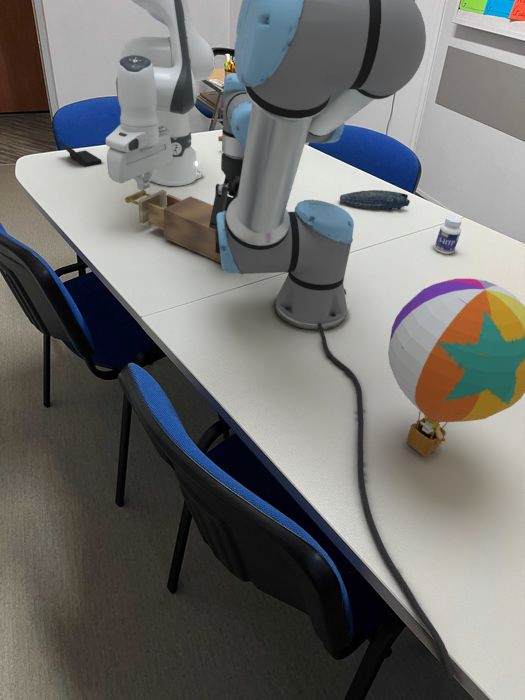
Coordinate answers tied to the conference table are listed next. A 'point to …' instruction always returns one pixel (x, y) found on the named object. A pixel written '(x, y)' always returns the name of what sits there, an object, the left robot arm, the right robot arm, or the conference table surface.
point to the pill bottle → (448, 235)
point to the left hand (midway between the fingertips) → (143, 188)
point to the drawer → (152, 206)
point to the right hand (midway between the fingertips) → (234, 244)
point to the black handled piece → (82, 156)
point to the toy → (458, 355)
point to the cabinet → (191, 227)
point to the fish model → (376, 199)
